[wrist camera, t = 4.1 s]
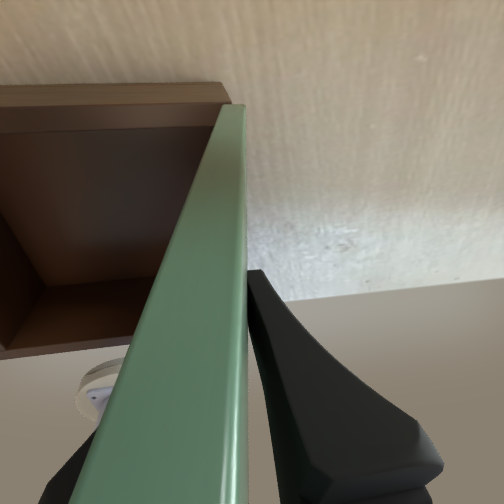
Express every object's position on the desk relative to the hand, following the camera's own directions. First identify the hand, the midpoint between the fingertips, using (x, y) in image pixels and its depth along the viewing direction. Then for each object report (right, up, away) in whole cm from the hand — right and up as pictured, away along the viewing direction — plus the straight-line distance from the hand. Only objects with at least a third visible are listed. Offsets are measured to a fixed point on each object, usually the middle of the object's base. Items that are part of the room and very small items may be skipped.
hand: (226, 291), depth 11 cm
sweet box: (-7, +5, +6) cm, 11 cm away
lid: (0, -3, -4) cm, 5 cm away
